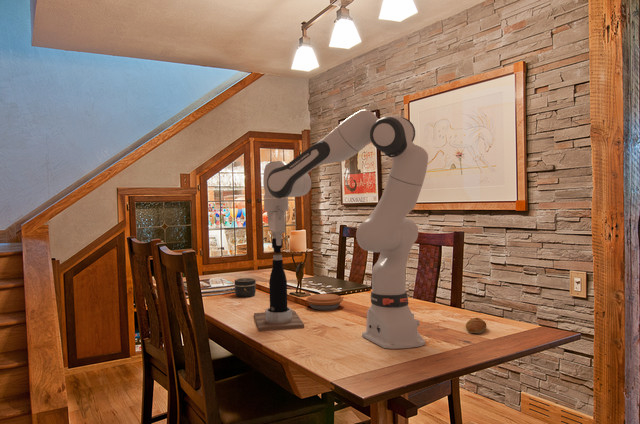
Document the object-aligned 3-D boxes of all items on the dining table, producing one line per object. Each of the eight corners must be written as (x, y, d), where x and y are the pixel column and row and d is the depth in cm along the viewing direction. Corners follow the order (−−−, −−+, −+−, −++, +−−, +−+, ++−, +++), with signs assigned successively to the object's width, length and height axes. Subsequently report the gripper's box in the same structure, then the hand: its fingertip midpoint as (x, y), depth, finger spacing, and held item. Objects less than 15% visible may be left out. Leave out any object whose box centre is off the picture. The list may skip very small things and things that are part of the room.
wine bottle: (289, 318, 180) (287, 238, 179) (286, 322, 173) (284, 239, 172) (272, 318, 180) (270, 238, 179) (268, 322, 174) (266, 239, 173)
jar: (235, 298, 223) (234, 282, 222) (234, 294, 232) (233, 278, 232) (257, 297, 225) (256, 280, 225) (254, 293, 235) (254, 277, 235)
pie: (299, 310, 198) (299, 298, 198) (316, 302, 212) (315, 290, 212) (334, 313, 192) (334, 300, 192) (348, 304, 206) (348, 293, 206)
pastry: (485, 336, 157) (485, 324, 157) (464, 334, 160) (463, 323, 160) (486, 328, 166) (486, 317, 166) (466, 327, 169) (466, 316, 168)
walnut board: (304, 327, 171) (304, 324, 171) (258, 331, 167) (258, 327, 167) (294, 313, 192) (294, 310, 192) (253, 316, 189) (253, 313, 189)
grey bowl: (293, 322, 173) (293, 311, 173) (266, 324, 171) (266, 313, 171) (289, 316, 182) (289, 305, 182) (264, 318, 180) (264, 307, 180)
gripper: (289, 206, 166) (289, 246, 166) (281, 205, 186) (282, 241, 186) (270, 206, 165) (271, 247, 165) (264, 206, 185) (265, 242, 185)
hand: (277, 244), depth 176 cm, fingers open, 8 cm apart
